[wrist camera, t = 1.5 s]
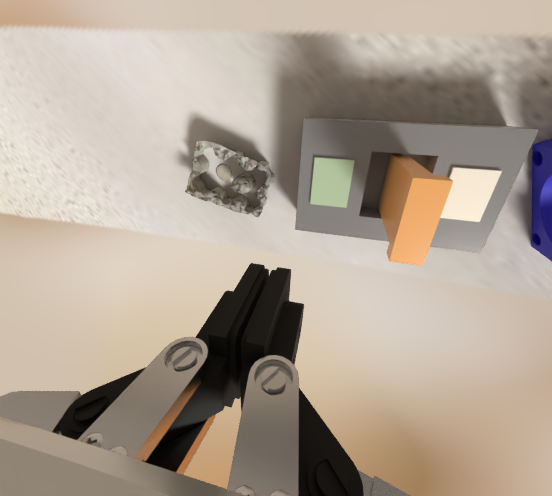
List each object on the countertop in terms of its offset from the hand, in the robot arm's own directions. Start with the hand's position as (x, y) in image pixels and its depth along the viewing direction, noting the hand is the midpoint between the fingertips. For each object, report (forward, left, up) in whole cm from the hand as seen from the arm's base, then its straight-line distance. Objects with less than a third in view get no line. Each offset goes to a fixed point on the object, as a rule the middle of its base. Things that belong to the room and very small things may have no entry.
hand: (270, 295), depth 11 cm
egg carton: (+10, -5, -25) cm, 28 cm away
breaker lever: (-7, +5, -22) cm, 24 cm away
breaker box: (-7, +5, -25) cm, 26 cm away
